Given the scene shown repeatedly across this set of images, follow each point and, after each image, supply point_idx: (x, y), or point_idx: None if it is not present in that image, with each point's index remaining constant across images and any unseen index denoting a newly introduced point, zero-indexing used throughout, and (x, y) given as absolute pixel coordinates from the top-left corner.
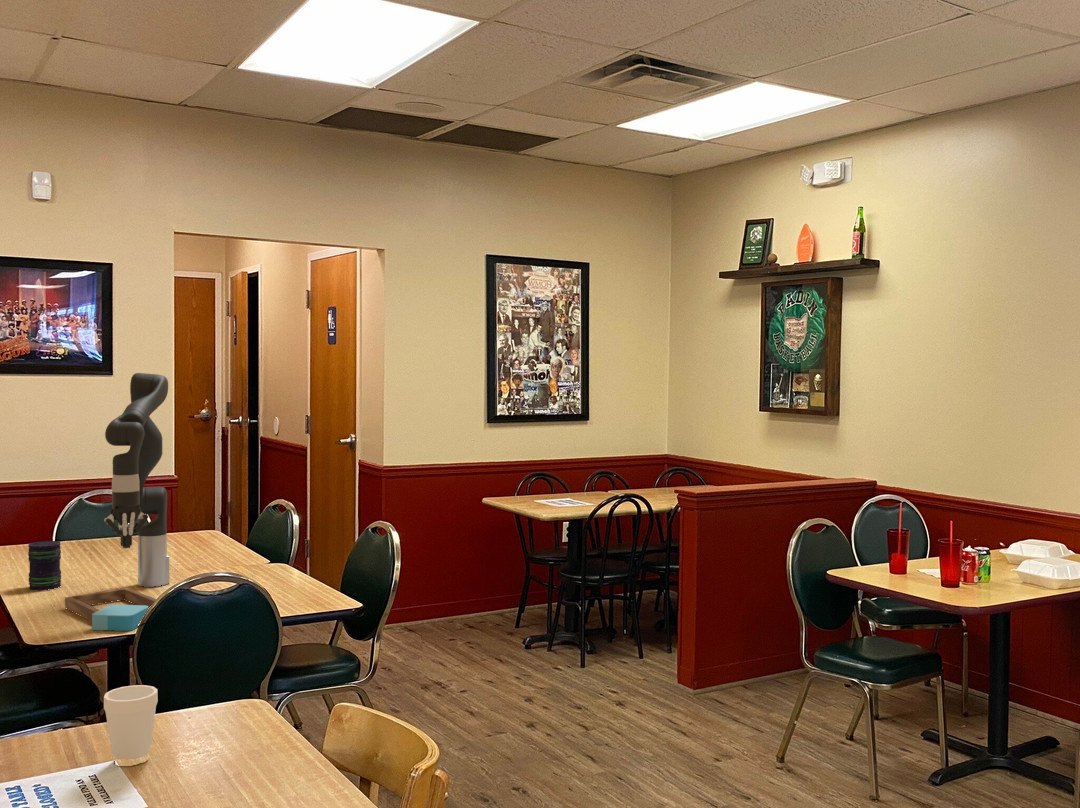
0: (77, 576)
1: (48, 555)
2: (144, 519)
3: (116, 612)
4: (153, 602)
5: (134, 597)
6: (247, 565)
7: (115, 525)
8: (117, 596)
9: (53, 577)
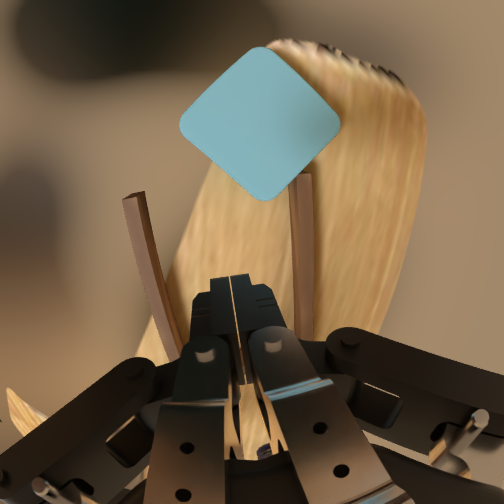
0: None
1: None
2: (22, 460)
3: (283, 97)
4: (142, 220)
5: (172, 325)
6: (21, 419)
7: (427, 390)
8: None
9: None
